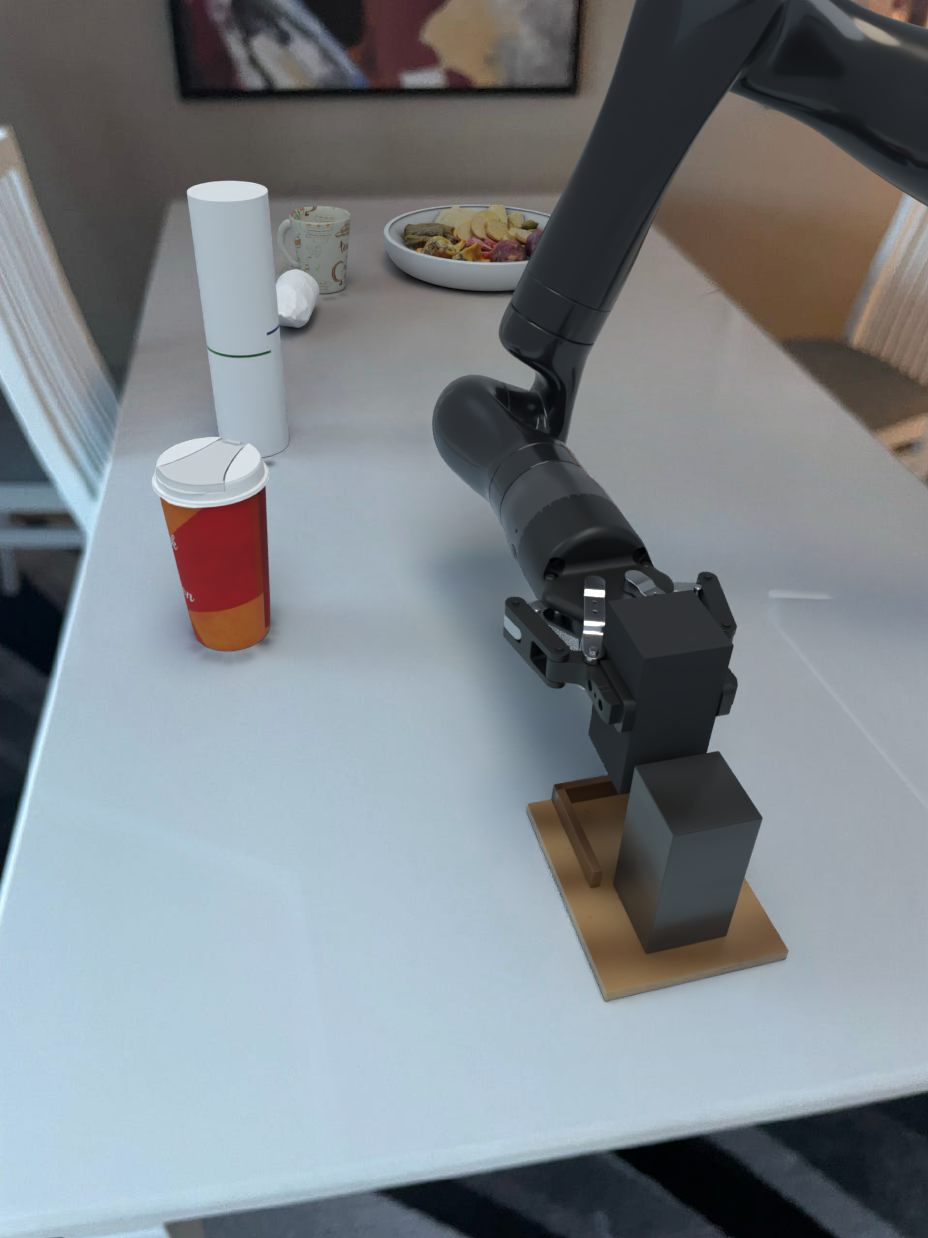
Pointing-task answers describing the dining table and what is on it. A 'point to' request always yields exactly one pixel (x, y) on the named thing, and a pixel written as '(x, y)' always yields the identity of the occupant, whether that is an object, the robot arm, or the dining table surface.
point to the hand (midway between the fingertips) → (678, 711)
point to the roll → (296, 297)
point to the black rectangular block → (662, 680)
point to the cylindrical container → (240, 311)
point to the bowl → (465, 244)
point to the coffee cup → (219, 537)
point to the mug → (319, 244)
